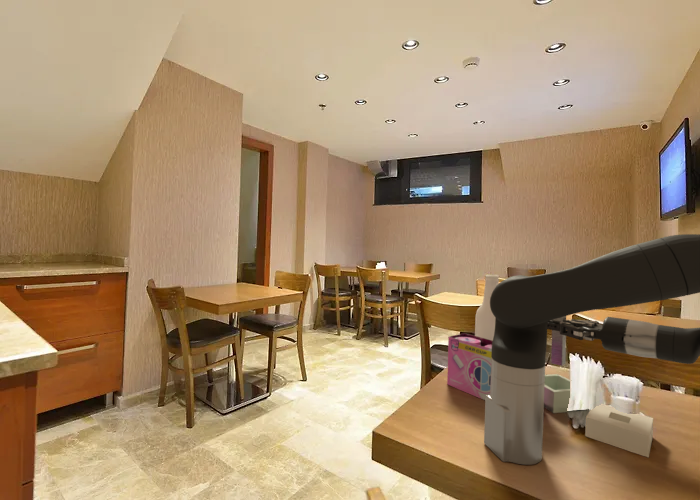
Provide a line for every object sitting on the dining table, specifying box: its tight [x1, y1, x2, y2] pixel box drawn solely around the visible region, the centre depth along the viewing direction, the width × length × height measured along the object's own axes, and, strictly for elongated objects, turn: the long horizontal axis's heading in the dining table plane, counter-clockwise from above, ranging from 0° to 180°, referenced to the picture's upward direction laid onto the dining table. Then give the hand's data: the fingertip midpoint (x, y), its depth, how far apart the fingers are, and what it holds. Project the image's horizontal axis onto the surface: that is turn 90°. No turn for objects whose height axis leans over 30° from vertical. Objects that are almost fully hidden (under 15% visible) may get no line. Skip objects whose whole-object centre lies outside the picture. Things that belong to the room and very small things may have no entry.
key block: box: [584, 403, 654, 459], centre depth 73 cm, size 10×10×4 cm
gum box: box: [446, 332, 493, 401], centre depth 90 cm, size 24×8×14 cm, turn 36°
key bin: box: [544, 373, 571, 414], centre depth 88 cm, size 10×10×5 cm
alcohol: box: [474, 274, 500, 341], centre depth 107 cm, size 9×9×30 cm
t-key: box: [550, 316, 567, 367], centre depth 88 cm, size 6×2×18 cm, turn 131°
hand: (546, 323), depth 90 cm, fingers closed on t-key, 2 cm apart
